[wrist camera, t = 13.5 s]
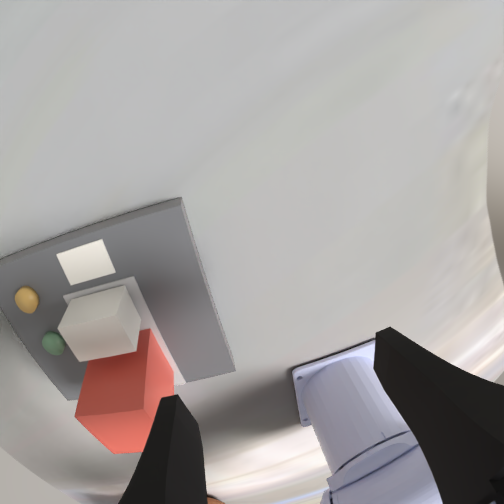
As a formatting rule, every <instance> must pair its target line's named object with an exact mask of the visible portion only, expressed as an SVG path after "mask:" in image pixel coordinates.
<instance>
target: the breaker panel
mask: <svg viewBox="0 0 504 504" xmlns="http://www.w3.org/2000/svg"><path fill="white" fill-rule="evenodd" d="M123 285H125V286H126V289H127V291H128V293H129V295H130V297H131V299H132V301H133V304H134V306H135V308H136V310H137V312H138V314H139V316H140V318H141V324H140V330H139V331H141V330H145V329H149V328H151V330H152V332H153V334H154V336H155V338H156V340H157V342H158V344H159V346H160V348H161V349H162V351H163V353H164V355H165V357H166V359H167V361H168V362H169V364H170V366H171V368H172V370H173V371H174V386H177V385H182V384H186V383H187V382H191V381H196V380H200V379H205V378H209V377H213V376H218V375H222V374H226V373H230V372H234V371H236V370H235V365H234V360H233V356H232V353H231V350H230V348H229V345H228V342H227V339H226V336H225V333H224V330H223V327H222V325H221V322H220V319H219V316H218V313H217V310H216V307H215V304H214V301H213V298H212V295H211V292H210V289H209V285H208V282H207V279H206V276H205V273H204V270H203V267H202V264H201V260H200V257H199V254H198V251H197V247H196V244H195V241H194V238H193V234H192V231H191V228H190V224H189V221H188V217H187V214H186V210H185V207H184V204H183V200H182V197H180V198H177V199H173V200H170V201H166V202H163V203H159V204H156V205H153V206H149V207H146V208H143V209H139V210H136V211H133V212H130V213H126V214H123V215H120V216H117V217H114V218H111V219H108V220H105V221H102V222H99V223H96V224H93V225H90V226H87V227H84V228H81V229H78V230H76V231H73V232H70V233H67V234H64V235H62V236H59V237H56V238H53V239H51V240H48V241H45V242H43V243H40V244H37V245H35V246H32V247H30V248H27V249H25V250H22V251H20V252H17V253H15V254H12V255H10V256H7V257H5V258H2V259H0V307H1V309H2V311H3V312H4V314H5V316H6V317H7V319H8V321H9V322H10V324H11V325H12V327H13V329H14V330H15V332H16V333H17V335H18V336H19V338H20V339H21V341H22V342H23V344H24V345H25V347H26V348H27V349H28V351H29V352H30V354H31V355H32V356H33V358H34V359H35V361H36V362H37V363H38V365H39V366H40V367H41V369H42V370H43V371H44V372H45V374H46V375H47V376H48V378H49V379H50V380H51V381H52V382H53V384H54V385H55V386H56V387H57V389H58V390H59V391H60V392H61V393H62V394H63V396H64V397H65V398H66V399H67V400H78V399H79V395H80V391H81V387H82V383H83V379H84V375H85V372H86V368H87V364H88V361H89V360H88V361H82V362H79V360H78V359H77V358H76V356H75V355H74V353H73V352H72V350H71V349H70V347H69V346H68V344H67V343H66V341H65V340H64V338H63V337H62V335H61V334H60V332H59V330H58V329H57V328H58V326H59V324H60V322H61V320H62V318H63V316H64V314H65V312H66V309H67V307H68V305H69V303H70V301H71V299H75V298H79V297H82V296H86V295H90V294H93V293H97V292H101V291H105V290H108V289H112V288H116V287H120V286H123Z"/></svg>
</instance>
